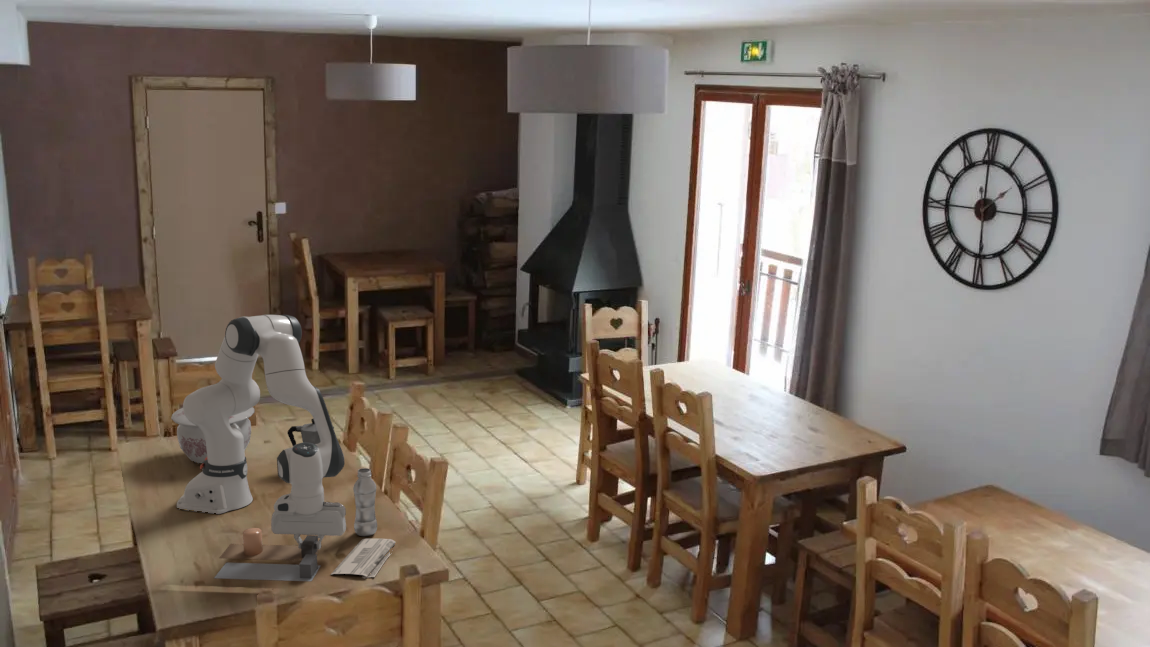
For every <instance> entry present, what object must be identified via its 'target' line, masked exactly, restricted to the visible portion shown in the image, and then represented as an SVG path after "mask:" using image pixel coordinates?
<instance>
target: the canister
mask: <svg viewBox="0 0 1150 647" xmlns="http://www.w3.org/2000/svg"><path fill="white" fill-rule="evenodd" d="M262 532H263V531H262V529H261V528H258V527H249V528H247V529H244V530H243V531H242V542H243V543H242V544H243V545H244V554H245V555H249V556H253V555H258V554H260V553H262V551H263V547H262V545H263V533H262Z"/></svg>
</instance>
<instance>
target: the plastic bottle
mask: <svg viewBox="0 0 1150 647" xmlns="http://www.w3.org/2000/svg"><path fill="white" fill-rule="evenodd" d="M357 478H358V479H356V481H355V483H354V484H353V486H352V489H353V494H354V501H355V519H354V523H353V527H354V532H355V534H356V535H357V536H360V537H370V536H373V535H374V534H375V533H376V532H377V530H378V522H377V521H378V520H377V517H376V510H375V508H376V505H375V504H376V503H375V502H376V492H377V485H376V482H375V481H374V480H373V479H372V472H371V468H366V467H365V468H364V467H363V468H359V469H358V470H357Z"/></svg>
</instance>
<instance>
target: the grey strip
mask: <svg viewBox="0 0 1150 647" xmlns="http://www.w3.org/2000/svg"><path fill="white" fill-rule="evenodd" d="M320 568H321V565H319V564H318V553H317V554H306V555H305V556H304V558H303V559H302V561H300V562H299V564H284V563H258V562H257V563H255V562H252V563H251V562H226V563H224V565H223V566H222V567H221V569H220V570H219V571H218V572H217V574H216V575H215V576H214V577H213V579H226V580H227V579H228V580H254V581H257V580H258V581H260V580H261V581H288V582H291V581H293V582H312V581H313V579H314V578H315V577H316V574H317V573H318V572H319V571H320V570H319V569H320Z"/></svg>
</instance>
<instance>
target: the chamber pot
mask: <svg viewBox="0 0 1150 647" xmlns="http://www.w3.org/2000/svg"><path fill="white" fill-rule="evenodd" d="M254 414H255V408H254V406H253V407H252V408H250V409H248V410H247V411H245V412H242V413H239V414H236V415H233V416H230V417H229V423H230V426H231V427H232V428H235V429H237V430H239V431H240V432H241V433H242V435H243V437H244V452H245V451H246V449H247V448H248V446H249V443H250V440H251V437H252V436H251V434H252V423H251V422H252V421H251V420H250V419H249V418H250V417H252V416H253V415H254ZM170 419H171V420H172V422H174V423H175V424H177V427H176V428H177V429H176V436H177V437H176V438H177V441H178V444H179V447H180V449H181V451H183V453H184V454H185V455H186V457H187V458H188V459H189V460H190V461H192V462H193V461H194V462H193V463H196V462H197V463H196V464H199V463H202V462H203V461H205V458H206V457H207V449H206V441H205V437H204V435H203V433H202V431H201V429H200V428H199V427H198V426H197V425H195V424H193V423H191V422H190V421H189V420H188V419H187V418H186V416H185V414H184V411H183V407H181V408H179V409H177V410H176V411H174V412H173V413H172V414H171V418H170Z"/></svg>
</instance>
